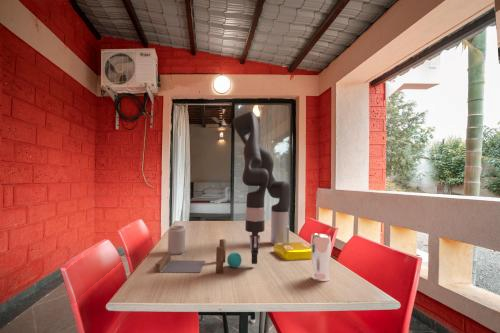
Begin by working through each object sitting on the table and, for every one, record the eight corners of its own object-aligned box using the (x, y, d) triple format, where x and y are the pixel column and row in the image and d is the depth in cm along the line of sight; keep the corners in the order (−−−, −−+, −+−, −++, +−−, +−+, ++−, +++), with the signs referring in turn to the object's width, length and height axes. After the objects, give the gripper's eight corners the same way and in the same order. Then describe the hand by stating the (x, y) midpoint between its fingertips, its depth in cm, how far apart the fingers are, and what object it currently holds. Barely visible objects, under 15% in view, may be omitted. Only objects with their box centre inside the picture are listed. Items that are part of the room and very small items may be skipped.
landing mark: (205, 261, 113) (205, 260, 113) (200, 272, 99) (200, 272, 99) (171, 260, 113) (171, 260, 113) (161, 272, 99) (161, 271, 99)
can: (187, 251, 127) (188, 225, 127) (178, 255, 120) (179, 228, 120) (174, 250, 129) (174, 224, 130) (164, 254, 122) (165, 227, 123)
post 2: (223, 271, 101) (223, 246, 102) (222, 273, 99) (223, 248, 99) (216, 271, 101) (216, 246, 101) (215, 273, 98) (216, 248, 99)
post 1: (225, 260, 114) (226, 239, 114) (225, 262, 111) (225, 240, 112) (219, 260, 114) (219, 239, 114) (218, 262, 111) (219, 240, 111)
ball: (226, 252, 109) (229, 267, 108) (225, 255, 104) (228, 270, 103) (240, 250, 110) (242, 264, 109) (239, 252, 104) (242, 267, 103)
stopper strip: (170, 260, 113) (170, 253, 113) (159, 272, 99) (160, 264, 99) (166, 260, 113) (166, 253, 113) (155, 272, 99) (155, 264, 99)
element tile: (316, 259, 120) (316, 248, 120) (284, 261, 116) (284, 250, 116) (301, 250, 134) (301, 240, 134) (272, 252, 130) (272, 242, 130)
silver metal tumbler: (319, 283, 91) (320, 238, 92) (306, 276, 97) (306, 234, 98) (335, 280, 94) (335, 236, 95) (321, 273, 101) (321, 232, 101)
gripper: (245, 216, 114) (244, 258, 113) (245, 221, 100) (244, 268, 100) (263, 216, 114) (262, 258, 113) (265, 221, 101) (265, 269, 100)
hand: (254, 263), depth 106 cm, fingers closed
